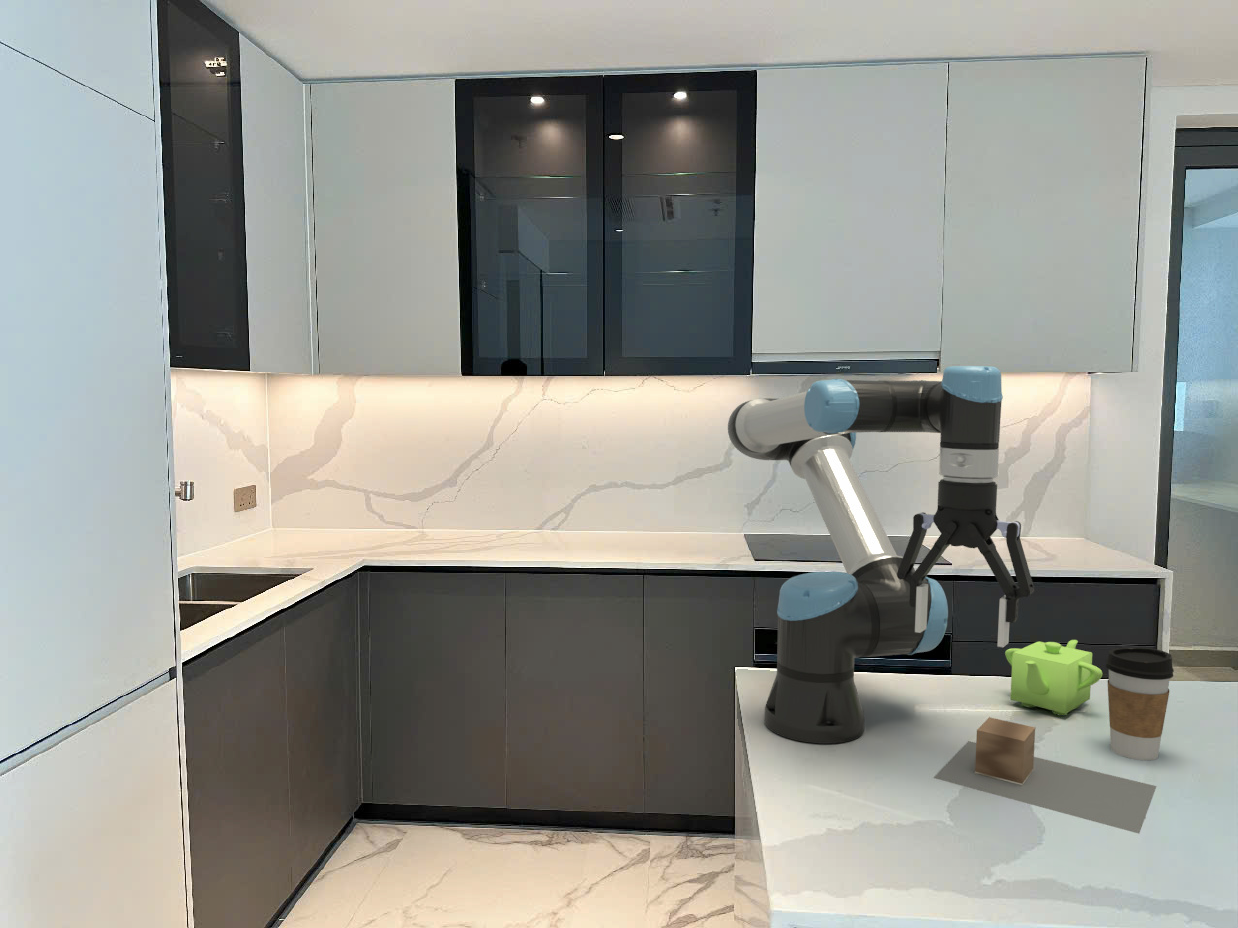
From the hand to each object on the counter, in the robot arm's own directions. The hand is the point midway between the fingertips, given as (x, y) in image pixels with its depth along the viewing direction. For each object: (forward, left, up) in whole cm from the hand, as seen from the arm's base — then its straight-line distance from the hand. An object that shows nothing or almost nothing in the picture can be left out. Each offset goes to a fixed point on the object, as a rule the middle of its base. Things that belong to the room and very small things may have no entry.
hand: (960, 637), depth 123 cm
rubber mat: (+12, 0, -18) cm, 21 cm away
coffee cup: (+20, +19, -18) cm, 33 cm away
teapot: (+6, +33, -18) cm, 38 cm away
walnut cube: (+7, 0, -17) cm, 19 cm away
